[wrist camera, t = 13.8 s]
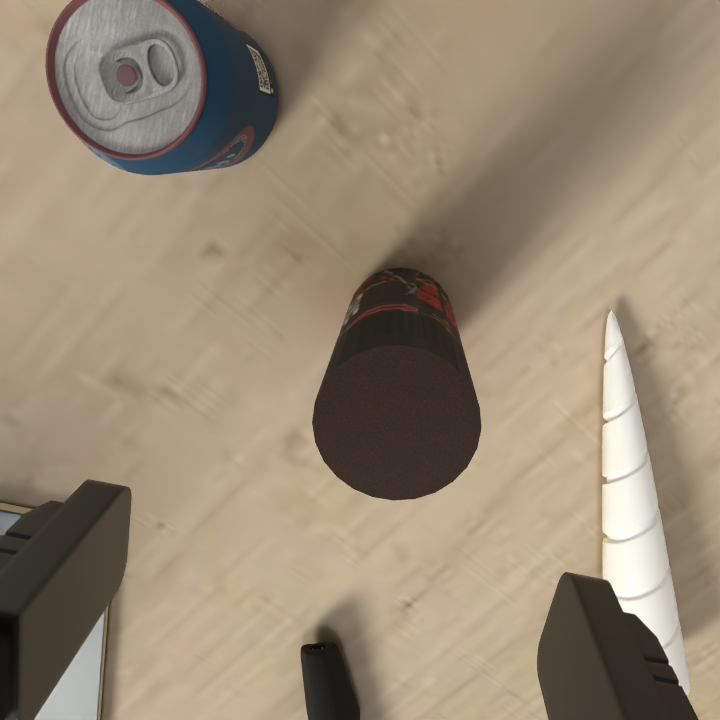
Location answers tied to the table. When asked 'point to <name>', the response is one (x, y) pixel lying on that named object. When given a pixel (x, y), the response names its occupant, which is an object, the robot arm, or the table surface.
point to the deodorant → (397, 391)
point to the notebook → (85, 673)
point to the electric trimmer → (327, 684)
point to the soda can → (160, 84)
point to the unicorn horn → (635, 511)
